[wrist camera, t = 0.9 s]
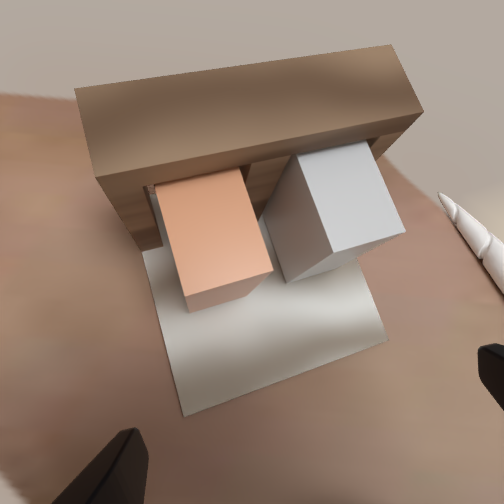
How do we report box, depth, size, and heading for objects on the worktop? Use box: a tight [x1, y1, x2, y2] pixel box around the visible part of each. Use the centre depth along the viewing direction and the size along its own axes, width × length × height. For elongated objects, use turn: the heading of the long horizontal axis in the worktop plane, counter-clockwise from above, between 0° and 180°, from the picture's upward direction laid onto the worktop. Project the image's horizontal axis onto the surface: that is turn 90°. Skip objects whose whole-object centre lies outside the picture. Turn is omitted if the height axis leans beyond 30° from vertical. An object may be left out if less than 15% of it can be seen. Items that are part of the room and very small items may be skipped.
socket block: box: [74, 45, 424, 417], centre depth 19 cm, size 15×15×11 cm
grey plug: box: [263, 139, 406, 283], centre depth 20 cm, size 6×4×8 cm, turn 18°
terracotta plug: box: [154, 166, 274, 313], centre depth 19 cm, size 6×4×8 cm, turn 18°
